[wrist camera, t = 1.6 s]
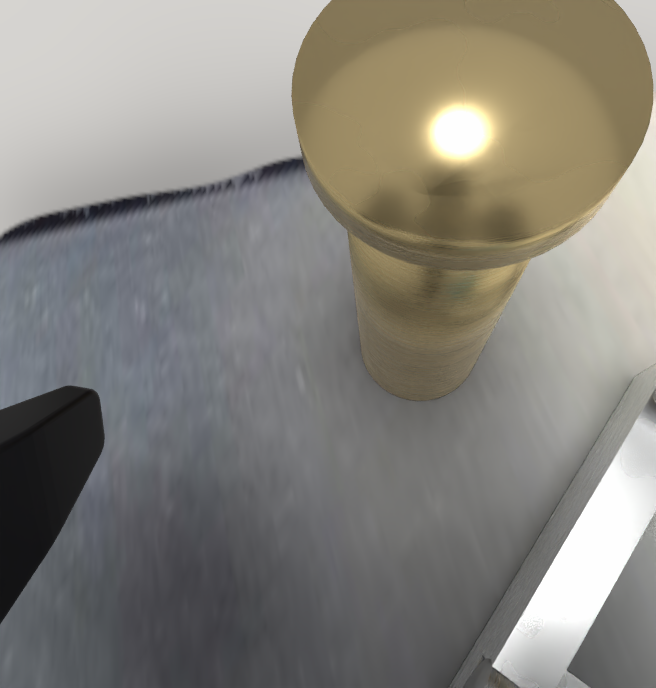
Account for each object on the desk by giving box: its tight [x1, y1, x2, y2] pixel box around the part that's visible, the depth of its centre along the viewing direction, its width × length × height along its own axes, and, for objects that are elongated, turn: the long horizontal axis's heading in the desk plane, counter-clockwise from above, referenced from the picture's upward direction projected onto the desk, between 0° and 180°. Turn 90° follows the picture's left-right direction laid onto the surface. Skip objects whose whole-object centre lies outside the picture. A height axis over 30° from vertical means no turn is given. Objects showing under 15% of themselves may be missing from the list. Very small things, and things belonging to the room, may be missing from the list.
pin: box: [292, 0, 653, 401], centre depth 15 cm, size 5×5×13 cm
